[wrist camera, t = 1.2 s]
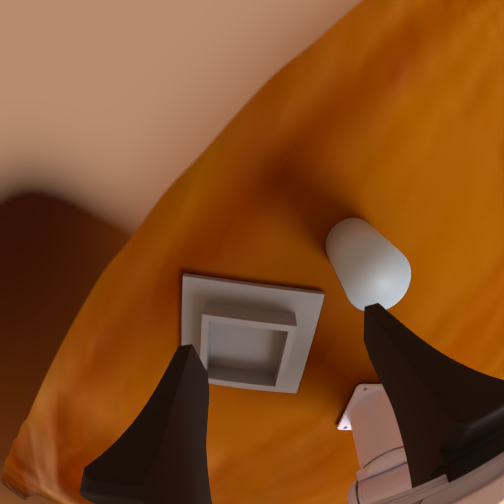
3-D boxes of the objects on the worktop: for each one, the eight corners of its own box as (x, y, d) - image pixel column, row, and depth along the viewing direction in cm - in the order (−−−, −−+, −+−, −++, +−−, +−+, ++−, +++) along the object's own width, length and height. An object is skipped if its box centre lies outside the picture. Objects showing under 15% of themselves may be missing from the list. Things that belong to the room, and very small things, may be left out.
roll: (382, 222, 24) (419, 252, 17) (369, 272, 25) (398, 314, 19) (331, 213, 24) (355, 241, 17) (320, 266, 25) (337, 309, 19)
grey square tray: (323, 291, 26) (328, 306, 24) (296, 389, 30) (297, 406, 28) (184, 273, 26) (176, 286, 24) (183, 375, 30) (177, 391, 28)
